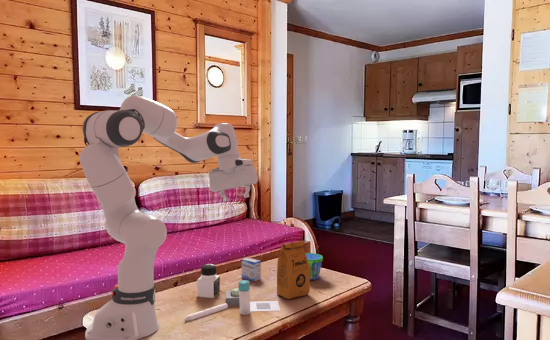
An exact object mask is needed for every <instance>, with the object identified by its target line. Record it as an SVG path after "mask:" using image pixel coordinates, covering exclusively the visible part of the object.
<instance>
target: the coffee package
mask: <svg viewBox="0 0 550 340" xmlns="http://www.w3.org/2000/svg"><path fill="white" fill-rule="evenodd" d="M305 244H306V243H305V240H299V241H293V242H287V243H283V244H282V245H281V247H280V251H279V253H278V257H277V264H276V265H277V266H276V295H277V296H280V297H283V298H284V299H288V300H290V299H294V298H299V297H300V298H301V297H303V296H307V295H309V293H310V291H311V290H310V287H311V284H310V280H309V276H310V268H309V263H308V259H307V256H306V254H305V253H306V251H305V247H304V246H305Z"/></svg>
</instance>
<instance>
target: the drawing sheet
mask: <svg viewBox="0 0 550 340" xmlns="http://www.w3.org/2000/svg"><path fill="white" fill-rule="evenodd" d="M280 311H281V307H280V305H279V301H278V300H266V301H265V300H264V301H263V300H262V301H261V300H259V301H250V313H251V312H252V313H253V312H280Z"/></svg>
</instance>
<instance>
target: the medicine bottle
mask: <svg viewBox="0 0 550 340" xmlns="http://www.w3.org/2000/svg"><path fill="white" fill-rule="evenodd" d="M220 276H221V275H220V274H219V275H218V274H217V265H215V264H212V263H207V264H204V265H203V264H202V265H201V268H200V277H199V278H197V281H196V287H197V288H196V290H197V292H196V296H197V297H199V298H206V299H215V298H216V297H217V295H218V294H219V293H220V292H221V291H220V290H221V289H220V288H221V277H220Z"/></svg>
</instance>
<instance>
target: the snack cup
mask: <svg viewBox="0 0 550 340" xmlns="http://www.w3.org/2000/svg"><path fill="white" fill-rule="evenodd" d="M305 254H306V256H307V259H308V263H309V268H310V276H309V281H316V280H319V278H320V273H321V268H322V262H323V261H324V257H323V255H321V254H318V253H315V252H313V253H312V252H308V253H307V252H305Z"/></svg>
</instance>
